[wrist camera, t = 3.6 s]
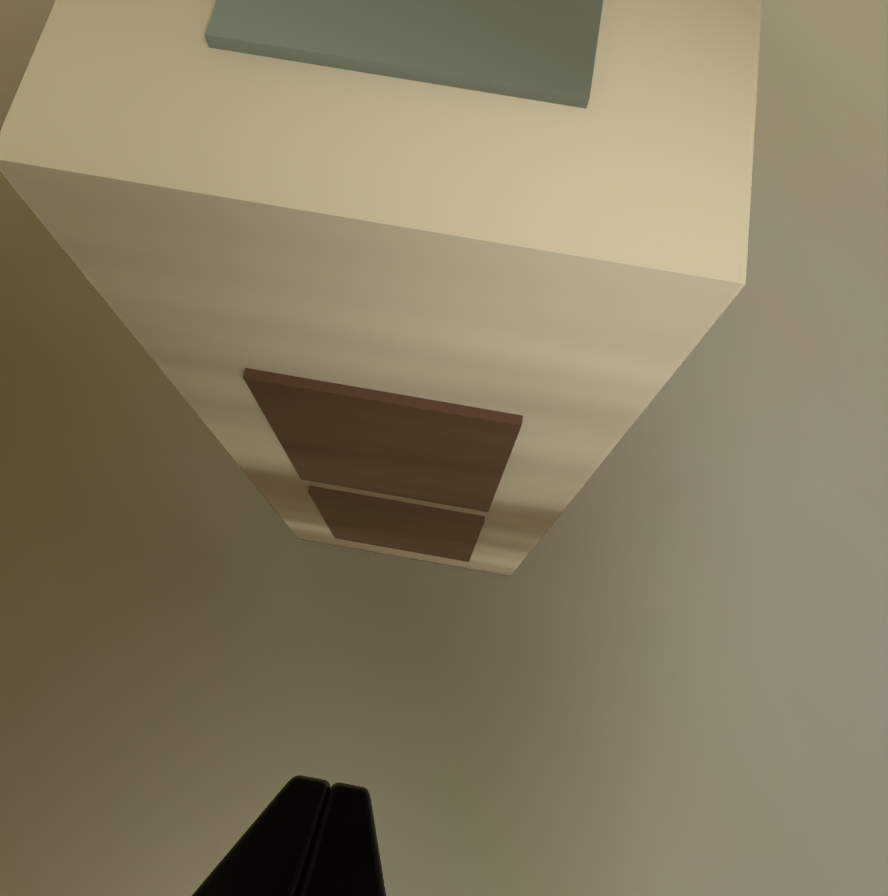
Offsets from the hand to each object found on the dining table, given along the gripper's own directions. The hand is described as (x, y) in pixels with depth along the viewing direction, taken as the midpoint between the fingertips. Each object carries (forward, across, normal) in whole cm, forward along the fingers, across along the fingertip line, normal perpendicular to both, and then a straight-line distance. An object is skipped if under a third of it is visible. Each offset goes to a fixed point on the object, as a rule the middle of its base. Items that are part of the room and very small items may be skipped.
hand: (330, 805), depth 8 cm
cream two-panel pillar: (+9, 0, 0) cm, 9 cm away
